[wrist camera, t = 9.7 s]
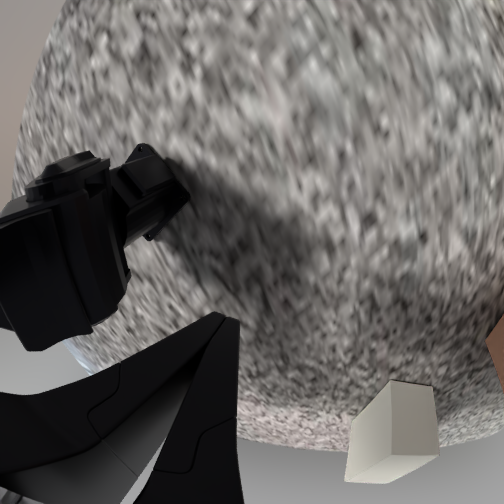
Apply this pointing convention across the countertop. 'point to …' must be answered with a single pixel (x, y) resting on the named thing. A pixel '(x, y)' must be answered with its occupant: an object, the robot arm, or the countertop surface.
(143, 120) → the countertop surface
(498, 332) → the terracotta block
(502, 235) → the countertop surface
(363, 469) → the cream block
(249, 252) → the countertop surface
